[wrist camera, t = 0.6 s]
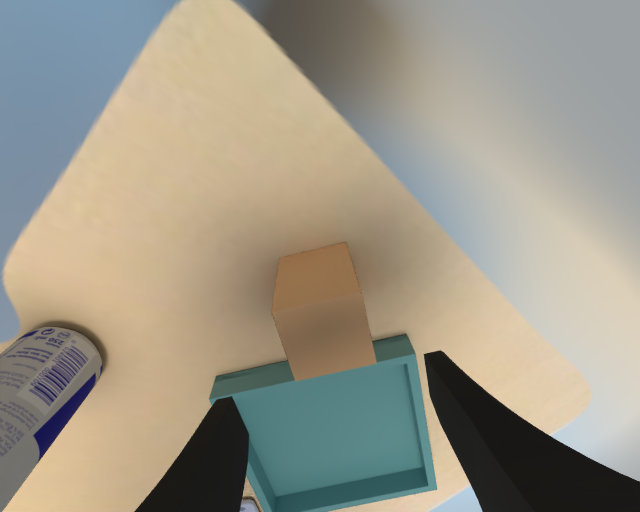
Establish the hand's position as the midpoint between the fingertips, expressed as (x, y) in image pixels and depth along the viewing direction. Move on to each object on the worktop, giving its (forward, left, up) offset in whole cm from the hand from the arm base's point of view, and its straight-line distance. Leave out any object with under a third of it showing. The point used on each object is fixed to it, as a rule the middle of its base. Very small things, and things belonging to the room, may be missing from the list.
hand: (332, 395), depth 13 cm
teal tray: (-2, -12, -9) cm, 15 cm away
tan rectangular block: (0, 0, -9) cm, 9 cm away
